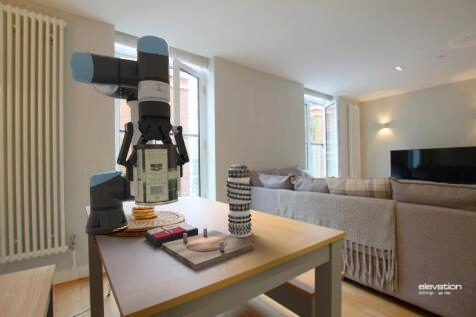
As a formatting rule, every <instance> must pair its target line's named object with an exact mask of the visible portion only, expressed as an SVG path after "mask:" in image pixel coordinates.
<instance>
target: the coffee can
mask: <svg viewBox="0 0 476 317" xmlns="http://www.w3.org/2000/svg"><path fill="white" fill-rule="evenodd" d="M133 149H134V150H136V149H137V161H136V162H135V164H134V167H136V168H137V177H138V196H135V201H134V205H135V206H140V207H156V206H164V205H170V204H174V203H177V202H179V194H178V192H179V191H178V187H177V151H178V148H177V145H176V144H175V143H173V144H163V143H153V144H140V145H133Z"/></svg>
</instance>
